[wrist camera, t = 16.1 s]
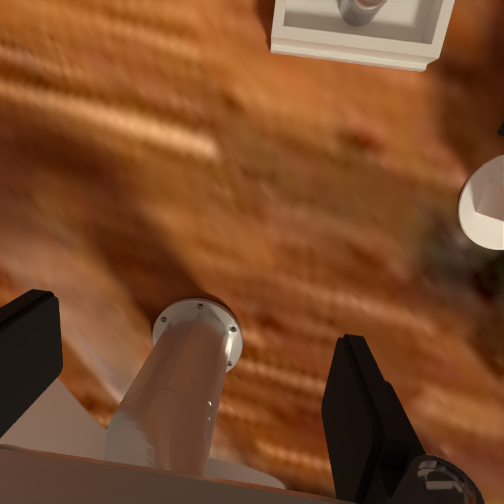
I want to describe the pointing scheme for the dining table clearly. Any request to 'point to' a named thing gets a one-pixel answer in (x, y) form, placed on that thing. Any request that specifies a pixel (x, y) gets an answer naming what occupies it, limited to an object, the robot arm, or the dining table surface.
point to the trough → (363, 33)
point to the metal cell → (359, 10)
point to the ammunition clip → (501, 130)
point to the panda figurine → (484, 205)
